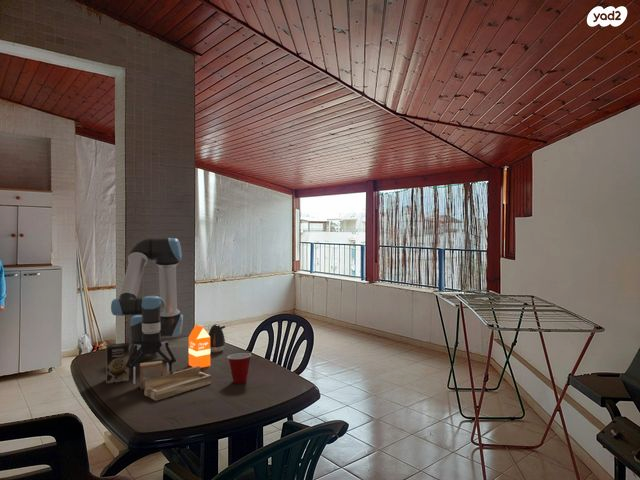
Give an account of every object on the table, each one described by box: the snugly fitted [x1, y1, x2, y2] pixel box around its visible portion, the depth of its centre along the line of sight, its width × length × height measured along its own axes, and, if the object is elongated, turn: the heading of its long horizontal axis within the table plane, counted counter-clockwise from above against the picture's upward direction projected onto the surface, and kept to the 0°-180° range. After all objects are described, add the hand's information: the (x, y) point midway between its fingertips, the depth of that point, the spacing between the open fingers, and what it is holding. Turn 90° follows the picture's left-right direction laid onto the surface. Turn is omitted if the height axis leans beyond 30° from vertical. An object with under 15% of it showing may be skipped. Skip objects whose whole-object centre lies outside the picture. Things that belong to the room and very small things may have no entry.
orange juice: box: [188, 324, 211, 369], centre depth 216 cm, size 8×9×20 cm
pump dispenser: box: [208, 323, 226, 353], centre depth 242 cm, size 10×10×15 cm
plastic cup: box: [226, 352, 252, 384], centre depth 193 cm, size 11×11×12 cm
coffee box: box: [105, 342, 130, 384], centre depth 194 cm, size 9×6×16 cm
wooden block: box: [139, 360, 164, 391], centre depth 186 cm, size 5×9×10 cm, turn 115°
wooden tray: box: [143, 366, 212, 401], centre depth 183 cm, size 9×26×7 cm, turn 140°
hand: (151, 380), depth 186 cm, fingers open, 13 cm apart
